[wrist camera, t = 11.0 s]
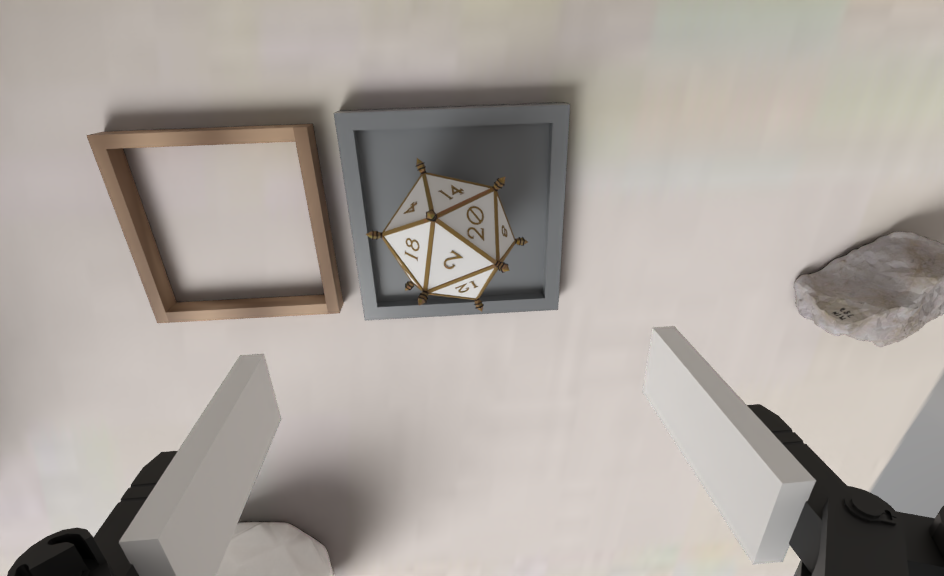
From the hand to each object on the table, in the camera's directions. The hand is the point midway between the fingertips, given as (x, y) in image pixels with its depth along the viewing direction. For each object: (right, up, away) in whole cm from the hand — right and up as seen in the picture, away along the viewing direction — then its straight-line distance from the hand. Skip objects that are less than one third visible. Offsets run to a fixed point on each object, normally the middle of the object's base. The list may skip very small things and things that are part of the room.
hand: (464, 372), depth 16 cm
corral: (-16, +7, +15) cm, 23 cm away
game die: (-1, +8, +16) cm, 18 cm away
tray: (-1, +8, +16) cm, 18 cm away
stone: (+30, +4, +21) cm, 36 cm away
